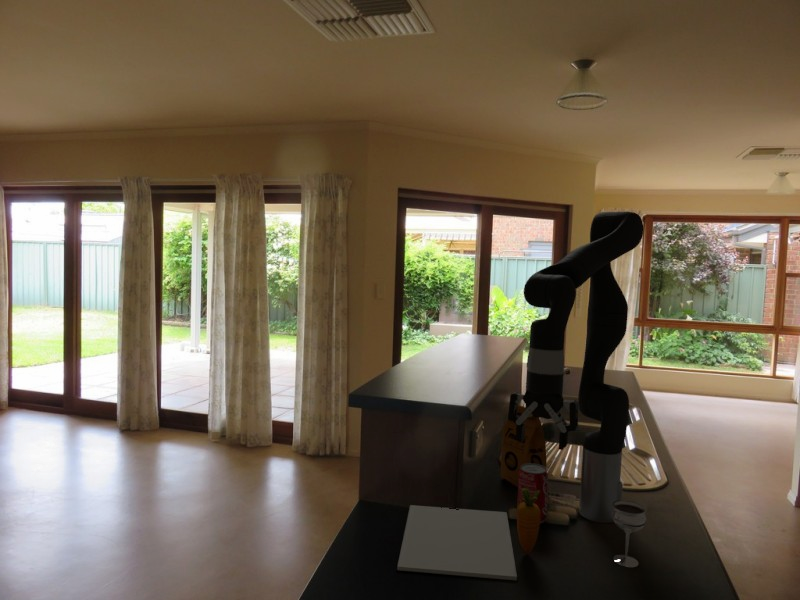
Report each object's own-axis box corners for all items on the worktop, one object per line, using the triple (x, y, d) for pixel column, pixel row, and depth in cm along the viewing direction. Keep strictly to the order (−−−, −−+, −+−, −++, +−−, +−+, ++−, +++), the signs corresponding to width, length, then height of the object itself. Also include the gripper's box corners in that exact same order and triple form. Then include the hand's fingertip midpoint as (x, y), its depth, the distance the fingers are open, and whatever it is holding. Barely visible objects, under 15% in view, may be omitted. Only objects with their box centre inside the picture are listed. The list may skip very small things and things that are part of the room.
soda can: (547, 527, 136) (550, 475, 134) (516, 524, 137) (518, 471, 136) (545, 514, 143) (548, 464, 141) (516, 511, 144) (518, 461, 143)
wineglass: (604, 551, 126) (608, 499, 124) (635, 552, 125) (639, 500, 124) (615, 569, 119) (618, 513, 118) (648, 570, 119) (652, 515, 118)
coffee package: (521, 495, 153) (525, 415, 151) (495, 478, 164) (498, 403, 162) (551, 490, 157) (555, 412, 155) (523, 473, 168) (526, 400, 166)
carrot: (539, 551, 125) (542, 485, 124) (537, 563, 120) (540, 494, 119) (516, 547, 127) (519, 482, 125) (513, 558, 122) (516, 490, 120)
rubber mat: (506, 515, 142) (506, 512, 141) (516, 580, 114) (516, 576, 114) (410, 508, 144) (410, 505, 144) (397, 570, 116) (397, 566, 116)
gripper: (583, 371, 120) (578, 446, 121) (517, 363, 127) (513, 435, 128) (576, 376, 113) (571, 456, 114) (506, 368, 120) (502, 443, 121)
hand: (540, 445), depth 121 cm, fingers open, 8 cm apart
